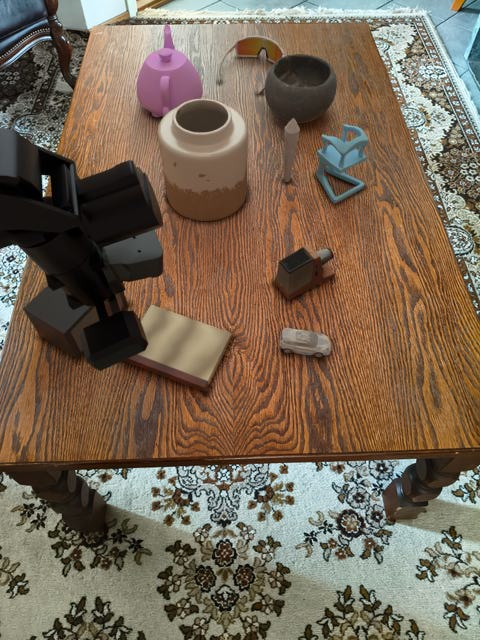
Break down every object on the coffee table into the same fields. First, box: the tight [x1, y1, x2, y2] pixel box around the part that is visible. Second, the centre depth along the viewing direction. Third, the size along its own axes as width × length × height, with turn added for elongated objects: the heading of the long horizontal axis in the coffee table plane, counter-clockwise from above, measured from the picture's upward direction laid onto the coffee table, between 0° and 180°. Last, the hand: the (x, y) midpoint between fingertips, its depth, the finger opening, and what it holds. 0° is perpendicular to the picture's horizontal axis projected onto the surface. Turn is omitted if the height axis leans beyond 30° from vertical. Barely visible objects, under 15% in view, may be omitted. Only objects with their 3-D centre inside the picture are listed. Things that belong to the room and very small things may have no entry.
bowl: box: [264, 53, 338, 124], centre depth 106 cm, size 15×15×10 cm
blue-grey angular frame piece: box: [315, 123, 370, 204], centre depth 93 cm, size 8×8×12 cm
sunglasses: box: [218, 34, 286, 95], centre depth 118 cm, size 14×15×5 cm
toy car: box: [278, 327, 332, 358], centre depth 77 cm, size 4×8×3 cm, turn 82°
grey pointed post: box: [283, 118, 301, 183], centre depth 93 cm, size 2×3×14 cm
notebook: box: [123, 304, 233, 393], centre depth 77 cm, size 14×10×2 cm
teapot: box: [136, 24, 204, 118], centre depth 107 cm, size 20×14×12 cm
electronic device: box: [274, 243, 336, 301], centre depth 82 cm, size 4×10×8 cm, turn 121°
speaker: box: [22, 284, 129, 361], centre depth 78 cm, size 12×8×8 cm
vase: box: [157, 98, 249, 222], centre depth 90 cm, size 15×15×17 cm
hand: (126, 320), depth 63 cm, fingers open, 9 cm apart
